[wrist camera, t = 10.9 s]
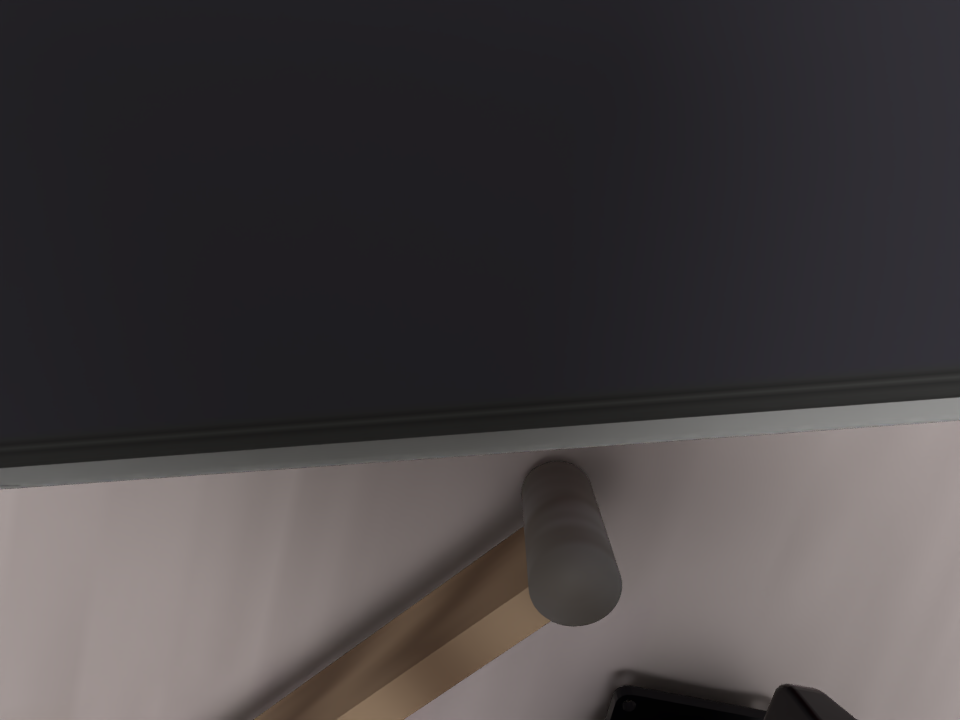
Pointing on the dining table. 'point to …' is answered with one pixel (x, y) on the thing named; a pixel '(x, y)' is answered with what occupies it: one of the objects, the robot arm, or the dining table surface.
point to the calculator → (467, 227)
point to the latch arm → (477, 609)
